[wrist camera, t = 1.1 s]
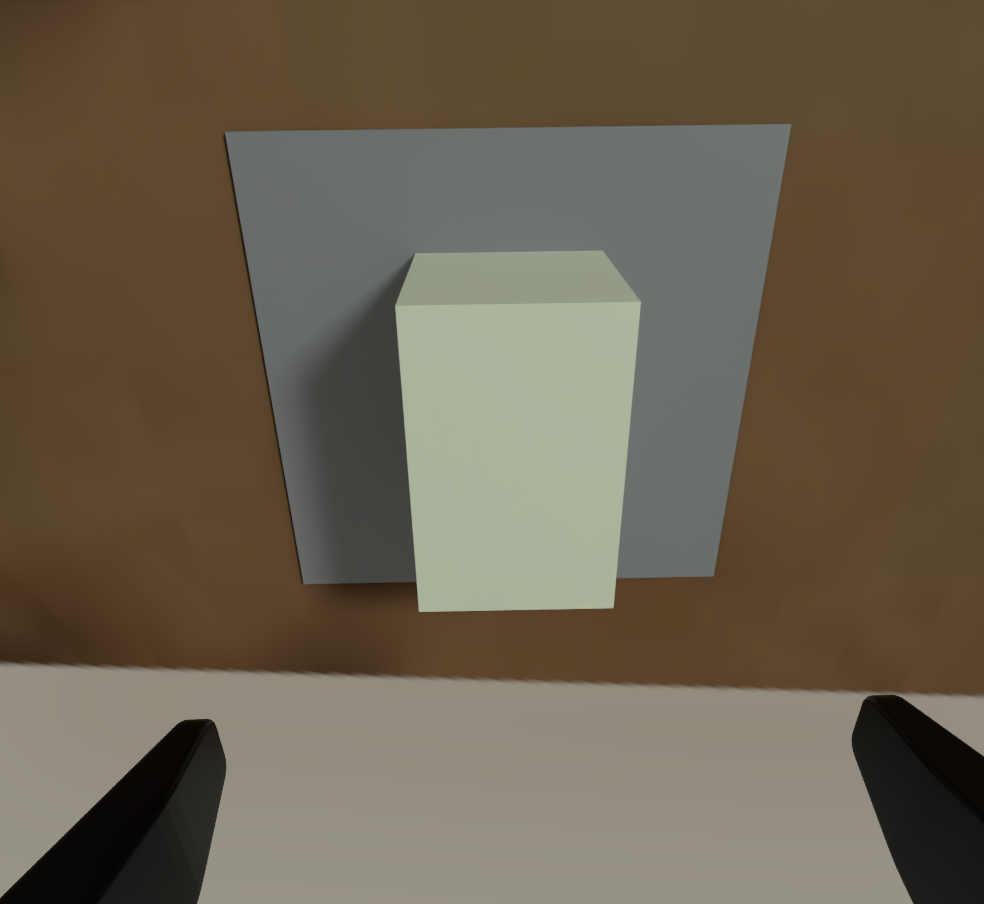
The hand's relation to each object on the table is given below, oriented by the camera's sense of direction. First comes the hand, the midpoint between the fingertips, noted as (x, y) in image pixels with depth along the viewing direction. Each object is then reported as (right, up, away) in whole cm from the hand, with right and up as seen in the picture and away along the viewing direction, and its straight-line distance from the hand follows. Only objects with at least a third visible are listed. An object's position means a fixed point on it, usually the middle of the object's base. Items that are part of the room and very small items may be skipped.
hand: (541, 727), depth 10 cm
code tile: (0, +6, +11) cm, 12 cm away
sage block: (0, +6, +11) cm, 12 cm away
